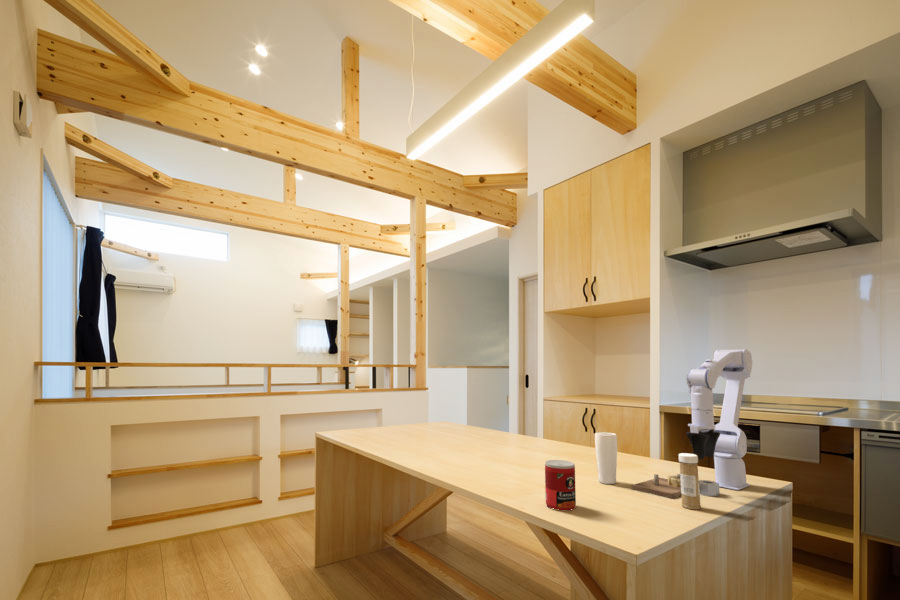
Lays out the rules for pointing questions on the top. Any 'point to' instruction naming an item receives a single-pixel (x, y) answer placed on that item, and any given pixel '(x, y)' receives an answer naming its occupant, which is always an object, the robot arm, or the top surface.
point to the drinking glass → (606, 456)
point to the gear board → (661, 486)
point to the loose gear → (709, 488)
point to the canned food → (560, 484)
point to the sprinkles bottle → (689, 481)
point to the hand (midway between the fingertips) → (704, 457)
